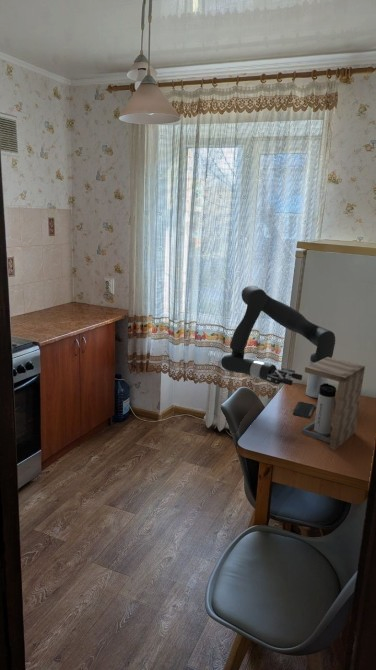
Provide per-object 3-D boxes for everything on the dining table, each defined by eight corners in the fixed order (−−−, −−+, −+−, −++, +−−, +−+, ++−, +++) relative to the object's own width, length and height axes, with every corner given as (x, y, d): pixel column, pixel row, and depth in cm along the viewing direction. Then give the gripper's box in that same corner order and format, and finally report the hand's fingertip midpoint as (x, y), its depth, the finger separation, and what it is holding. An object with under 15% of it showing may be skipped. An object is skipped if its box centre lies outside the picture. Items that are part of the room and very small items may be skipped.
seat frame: (314, 423, 193) (314, 420, 192) (342, 433, 185) (342, 429, 185) (301, 432, 184) (301, 429, 183) (329, 443, 176) (330, 439, 176)
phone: (315, 404, 211) (310, 416, 198) (315, 407, 211) (310, 419, 198) (298, 401, 214) (292, 412, 201) (298, 403, 214) (291, 415, 201)
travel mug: (326, 429, 188) (333, 383, 183) (332, 436, 182) (338, 389, 177) (311, 428, 188) (317, 382, 183) (316, 436, 181) (322, 388, 176)
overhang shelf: (318, 420, 196) (327, 356, 189) (354, 432, 186) (365, 366, 179) (296, 435, 181) (305, 367, 174) (334, 450, 171) (345, 377, 164)
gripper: (254, 366, 194) (289, 375, 184) (272, 359, 204) (305, 367, 194) (253, 383, 196) (288, 393, 186) (270, 375, 206) (304, 384, 196)
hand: (297, 380), depth 190 cm, fingers open, 8 cm apart
